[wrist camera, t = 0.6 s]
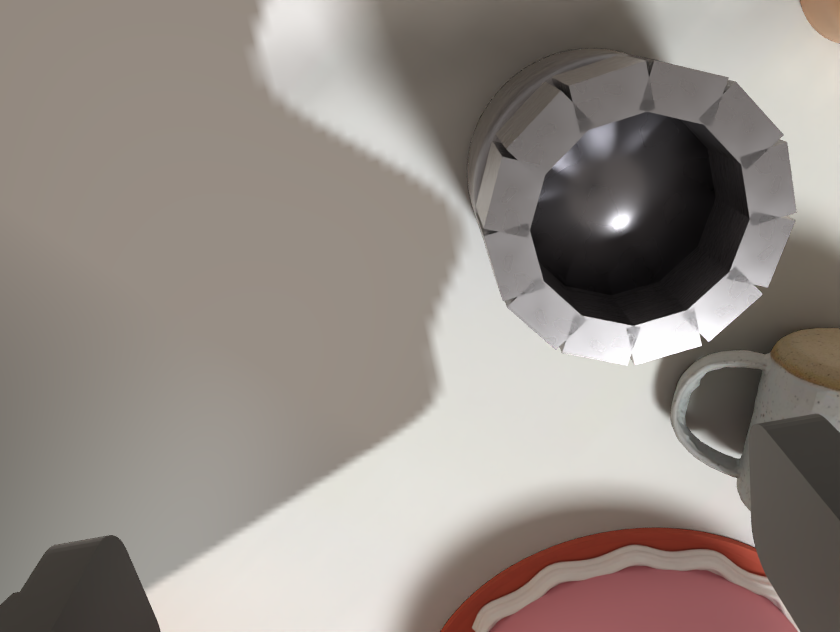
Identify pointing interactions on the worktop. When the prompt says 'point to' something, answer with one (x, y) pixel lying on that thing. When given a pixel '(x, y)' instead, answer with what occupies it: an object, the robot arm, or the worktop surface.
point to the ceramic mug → (769, 392)
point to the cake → (630, 588)
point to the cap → (823, 17)
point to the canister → (628, 202)
